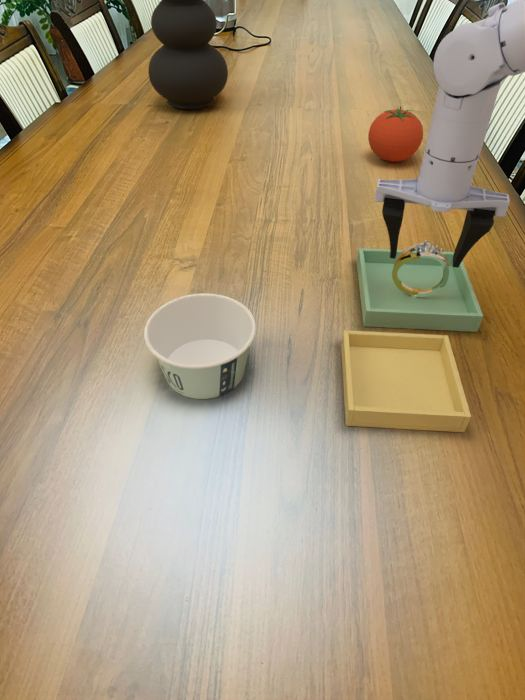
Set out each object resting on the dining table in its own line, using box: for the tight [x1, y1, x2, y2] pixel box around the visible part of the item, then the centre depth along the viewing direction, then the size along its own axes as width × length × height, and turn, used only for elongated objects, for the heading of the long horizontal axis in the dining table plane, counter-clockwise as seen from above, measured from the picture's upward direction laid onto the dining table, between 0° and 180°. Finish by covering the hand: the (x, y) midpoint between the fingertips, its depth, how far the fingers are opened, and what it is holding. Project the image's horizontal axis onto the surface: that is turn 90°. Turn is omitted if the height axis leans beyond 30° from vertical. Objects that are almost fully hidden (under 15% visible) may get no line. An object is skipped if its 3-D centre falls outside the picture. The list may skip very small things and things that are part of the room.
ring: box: [392, 239, 449, 298], centre depth 65 cm, size 7×3×8 cm, turn 70°
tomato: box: [367, 106, 424, 163], centre depth 98 cm, size 10×10×10 cm
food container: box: [143, 292, 257, 400], centre depth 57 cm, size 12×12×6 cm
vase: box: [148, 0, 229, 110], centre depth 112 cm, size 18×18×35 cm
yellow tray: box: [340, 329, 472, 433], centre depth 56 cm, size 12×12×3 cm
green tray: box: [356, 247, 484, 333], centre depth 68 cm, size 14×14×3 cm
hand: (423, 258), depth 64 cm, fingers open, 7 cm apart
